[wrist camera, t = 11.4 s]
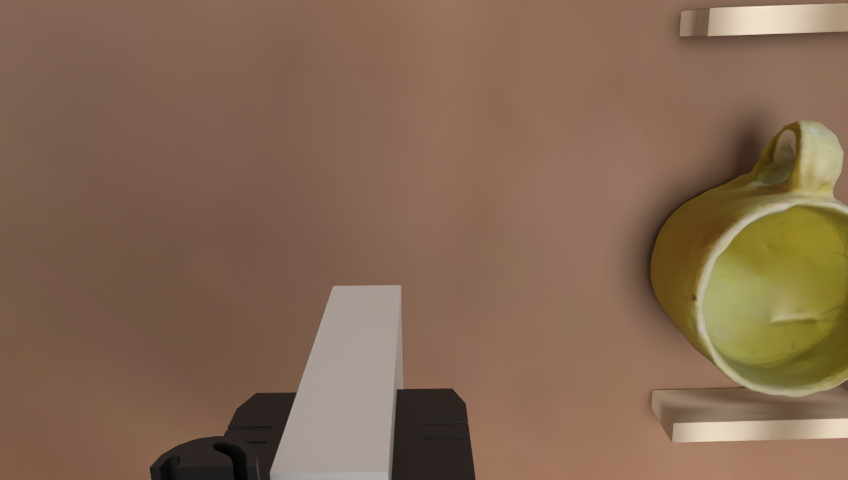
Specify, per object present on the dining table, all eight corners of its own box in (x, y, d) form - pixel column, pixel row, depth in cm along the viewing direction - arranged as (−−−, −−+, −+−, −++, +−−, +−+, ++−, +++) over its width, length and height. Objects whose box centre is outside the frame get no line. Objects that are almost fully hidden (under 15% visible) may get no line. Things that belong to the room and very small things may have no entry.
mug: (803, 387, 37) (878, 442, 27) (621, 323, 39) (631, 354, 30) (883, 177, 36) (991, 156, 26) (691, 124, 38) (724, 88, 28)
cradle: (651, 408, 39) (671, 442, 36) (681, 11, 33) (709, 7, 30) (857, 402, 39) (897, 436, 36) (928, 2, 33) (986, -2, 29)
